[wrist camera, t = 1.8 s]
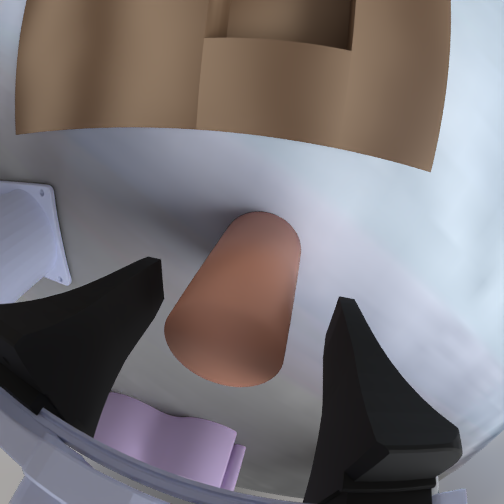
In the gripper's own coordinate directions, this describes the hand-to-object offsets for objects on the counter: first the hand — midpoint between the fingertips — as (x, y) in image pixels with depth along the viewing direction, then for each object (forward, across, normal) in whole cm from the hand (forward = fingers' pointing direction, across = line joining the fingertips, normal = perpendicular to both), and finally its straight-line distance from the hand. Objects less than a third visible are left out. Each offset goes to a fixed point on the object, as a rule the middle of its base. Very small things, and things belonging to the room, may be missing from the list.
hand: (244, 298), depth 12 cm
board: (+4, +4, -12) cm, 13 cm away
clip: (+4, +9, +26) cm, 28 cm away
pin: (+4, 0, 0) cm, 4 cm away
